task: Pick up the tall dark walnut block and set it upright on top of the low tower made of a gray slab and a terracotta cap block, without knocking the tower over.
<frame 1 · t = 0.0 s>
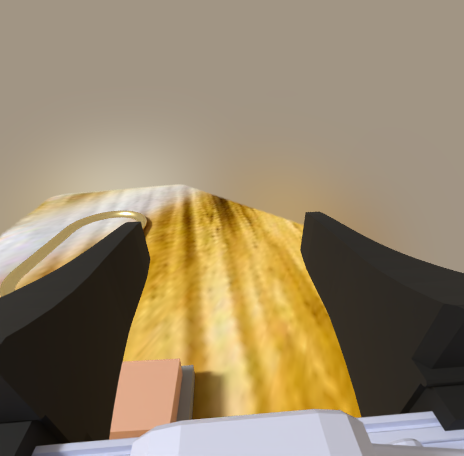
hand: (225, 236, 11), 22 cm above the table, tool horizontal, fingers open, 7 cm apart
serving platter: (90, 251, 54), on the table
terracotta cap: (145, 407, 24), point 2 cm above the table
gray slab: (151, 423, 25), on the table
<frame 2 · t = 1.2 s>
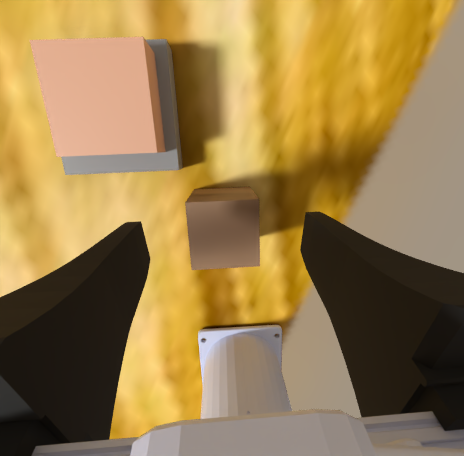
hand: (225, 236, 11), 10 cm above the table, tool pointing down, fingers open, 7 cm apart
terracotta cap: (114, 106, 17), point 2 cm above the table, touching gray slab
walnut block: (223, 214, 22), on the table
gray slab: (125, 116, 20), on the table, touching terracotta cap
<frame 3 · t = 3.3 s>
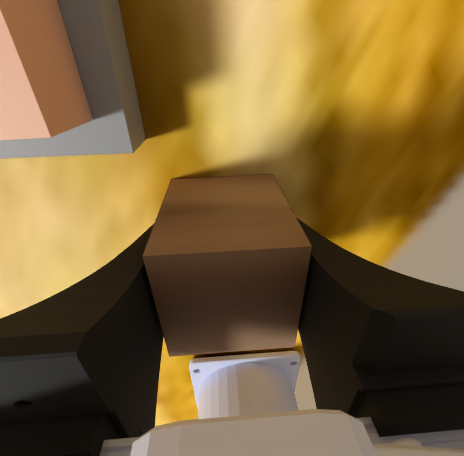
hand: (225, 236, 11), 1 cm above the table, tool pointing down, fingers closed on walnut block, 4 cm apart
walnut block: (224, 220, 13), on the table, touching gripper
gray slab: (4, 17, 9), on the table, touching terracotta cap
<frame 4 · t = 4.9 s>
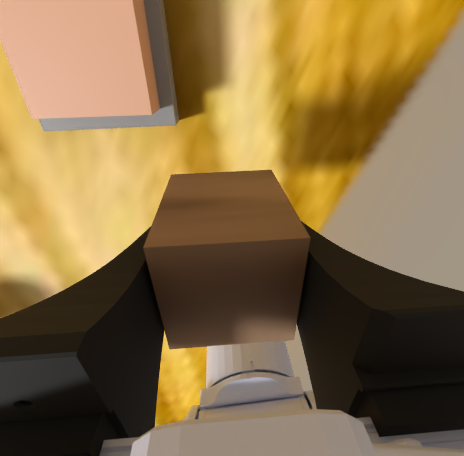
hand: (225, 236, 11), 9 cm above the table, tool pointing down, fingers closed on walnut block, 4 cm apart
terracotta cap: (93, 48, 14), point 2 cm above the table, touching gray slab
walnut block: (223, 215, 13), point 8 cm above the table, touching gripper
gray slab: (105, 51, 16), on the table, touching terracotta cap
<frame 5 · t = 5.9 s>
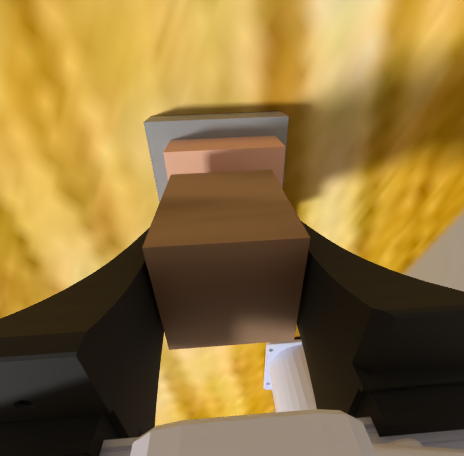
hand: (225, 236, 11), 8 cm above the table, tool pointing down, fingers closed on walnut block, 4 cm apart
terracotta cap: (225, 186, 16), point 2 cm above the table, touching gray slab
walnut block: (223, 215, 13), point 6 cm above the table, touching gripper
gray slab: (219, 173, 18), on the table, touching terracotta cap
when the fingers open (7 cm above the table, at t = 6.8 s): walnut block drops 2 cm, resting on terracotta cap.
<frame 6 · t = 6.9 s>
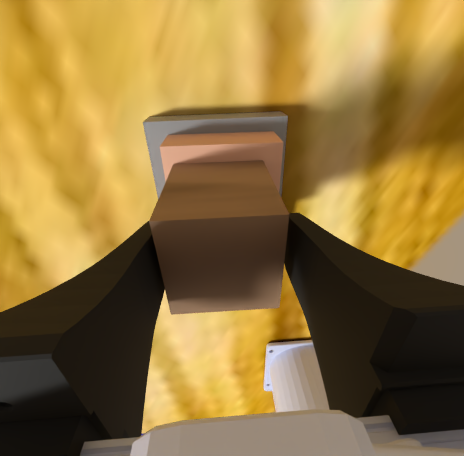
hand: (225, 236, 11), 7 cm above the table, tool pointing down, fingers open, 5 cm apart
terracotta cap: (223, 182, 16), point 2 cm above the table, touching gray slab, walnut block
walnut block: (220, 202, 14), point 4 cm above the table, touching terracotta cap
gray slab: (219, 172, 18), on the table, touching terracotta cap
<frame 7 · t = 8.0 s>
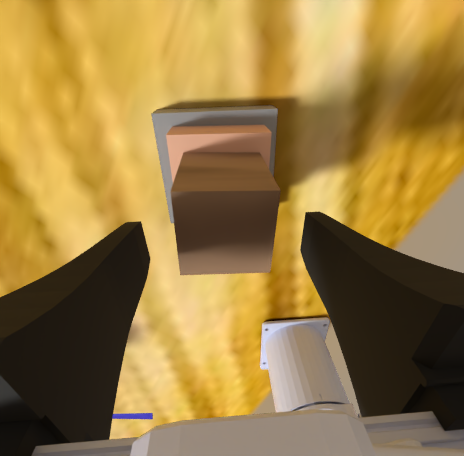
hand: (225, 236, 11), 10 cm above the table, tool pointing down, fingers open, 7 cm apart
terracotta cap: (220, 170, 18), point 2 cm above the table, touching gray slab, walnut block
walnut block: (222, 187, 16), point 4 cm above the table, touching terracotta cap
gray slab: (218, 161, 21), on the table, touching terracotta cap
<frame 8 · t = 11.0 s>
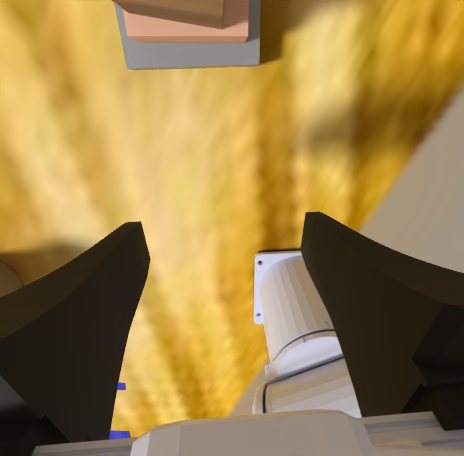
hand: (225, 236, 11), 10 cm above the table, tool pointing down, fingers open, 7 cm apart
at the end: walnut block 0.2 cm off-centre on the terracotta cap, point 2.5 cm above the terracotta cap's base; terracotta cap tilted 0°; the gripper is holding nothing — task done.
